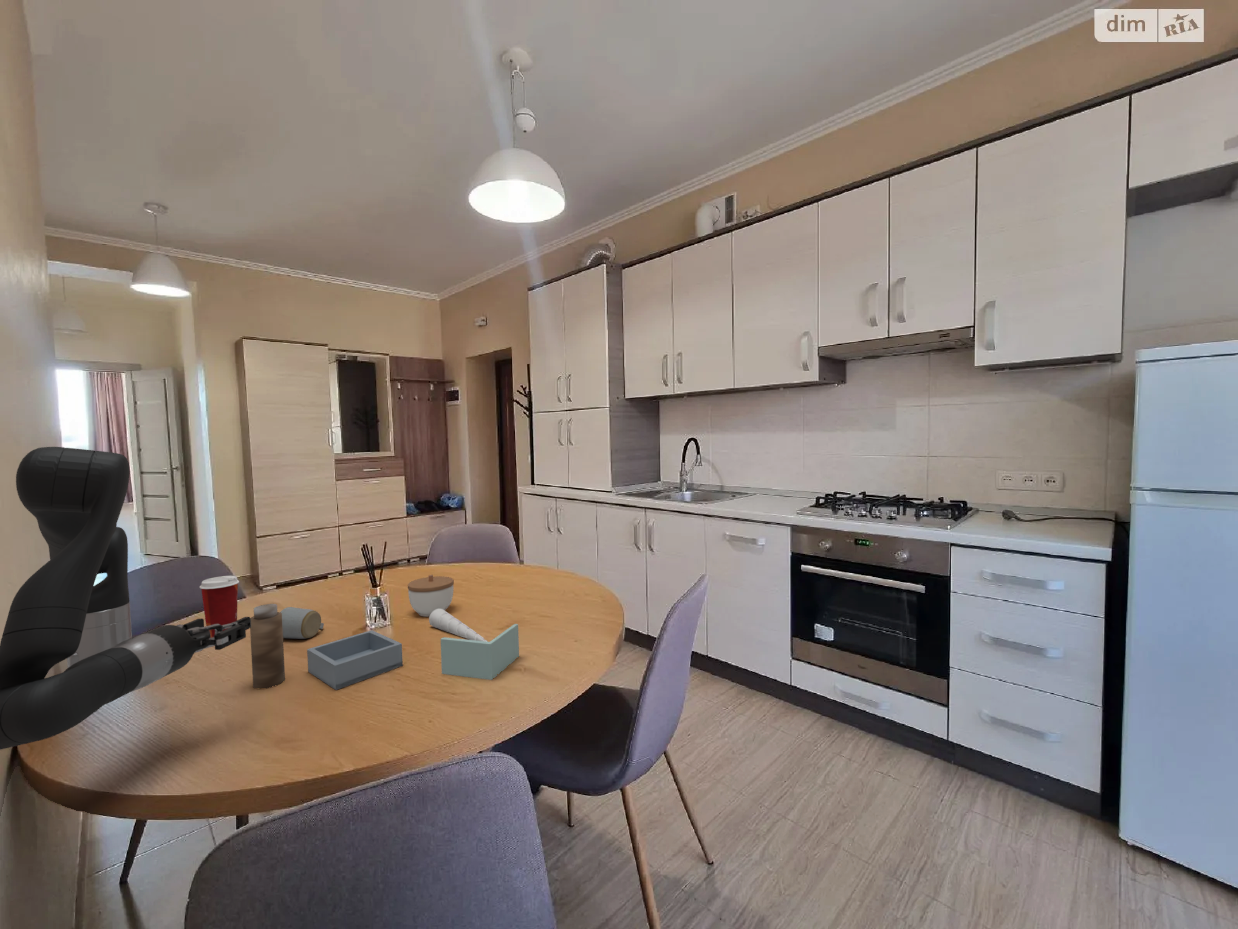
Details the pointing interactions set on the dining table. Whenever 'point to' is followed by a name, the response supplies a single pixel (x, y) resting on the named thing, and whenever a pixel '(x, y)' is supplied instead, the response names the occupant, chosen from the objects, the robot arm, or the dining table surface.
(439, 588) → the lidded bowl
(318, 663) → the bin
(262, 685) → the pepper mill
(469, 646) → the right angle wall
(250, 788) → the dining table surface
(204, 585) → the coffee cup
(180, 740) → the dining table surface
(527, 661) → the dining table surface
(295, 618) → the ceramic mug
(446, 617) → the unicorn horn
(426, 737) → the dining table surface
